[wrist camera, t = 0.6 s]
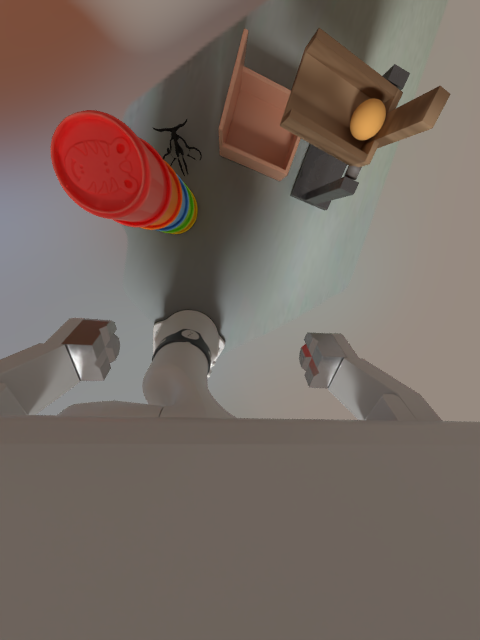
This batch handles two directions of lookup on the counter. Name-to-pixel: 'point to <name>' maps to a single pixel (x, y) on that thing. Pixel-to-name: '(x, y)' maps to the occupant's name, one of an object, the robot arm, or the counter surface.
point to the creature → (177, 147)
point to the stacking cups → (119, 174)
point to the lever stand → (332, 165)
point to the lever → (350, 104)
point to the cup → (256, 122)
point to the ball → (367, 119)
